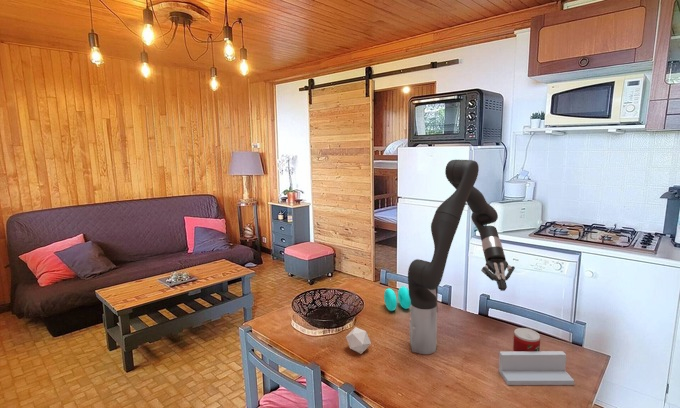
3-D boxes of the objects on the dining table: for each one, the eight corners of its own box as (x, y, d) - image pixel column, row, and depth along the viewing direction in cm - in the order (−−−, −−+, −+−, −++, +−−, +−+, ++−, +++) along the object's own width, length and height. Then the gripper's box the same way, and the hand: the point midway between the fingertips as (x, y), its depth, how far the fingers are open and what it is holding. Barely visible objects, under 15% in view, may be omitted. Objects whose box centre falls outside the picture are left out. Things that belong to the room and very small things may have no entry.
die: (375, 351, 134) (369, 324, 138) (368, 351, 126) (361, 323, 131) (355, 356, 136) (349, 330, 140) (346, 356, 129) (341, 329, 133)
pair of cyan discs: (383, 305, 169) (383, 285, 168) (403, 302, 172) (403, 282, 170) (391, 315, 160) (391, 293, 158) (412, 312, 162) (412, 291, 160)
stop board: (507, 385, 112) (508, 364, 111) (498, 371, 119) (499, 351, 118) (574, 385, 111) (575, 364, 110) (561, 370, 118) (562, 351, 117)
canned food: (529, 373, 117) (531, 342, 115) (507, 361, 124) (508, 331, 122) (543, 366, 121) (545, 335, 119) (521, 354, 128) (523, 325, 126)
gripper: (478, 245, 146) (488, 286, 136) (512, 245, 146) (524, 286, 136) (474, 254, 152) (483, 293, 142) (506, 254, 152) (517, 293, 142)
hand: (503, 289), depth 139 cm, fingers closed
